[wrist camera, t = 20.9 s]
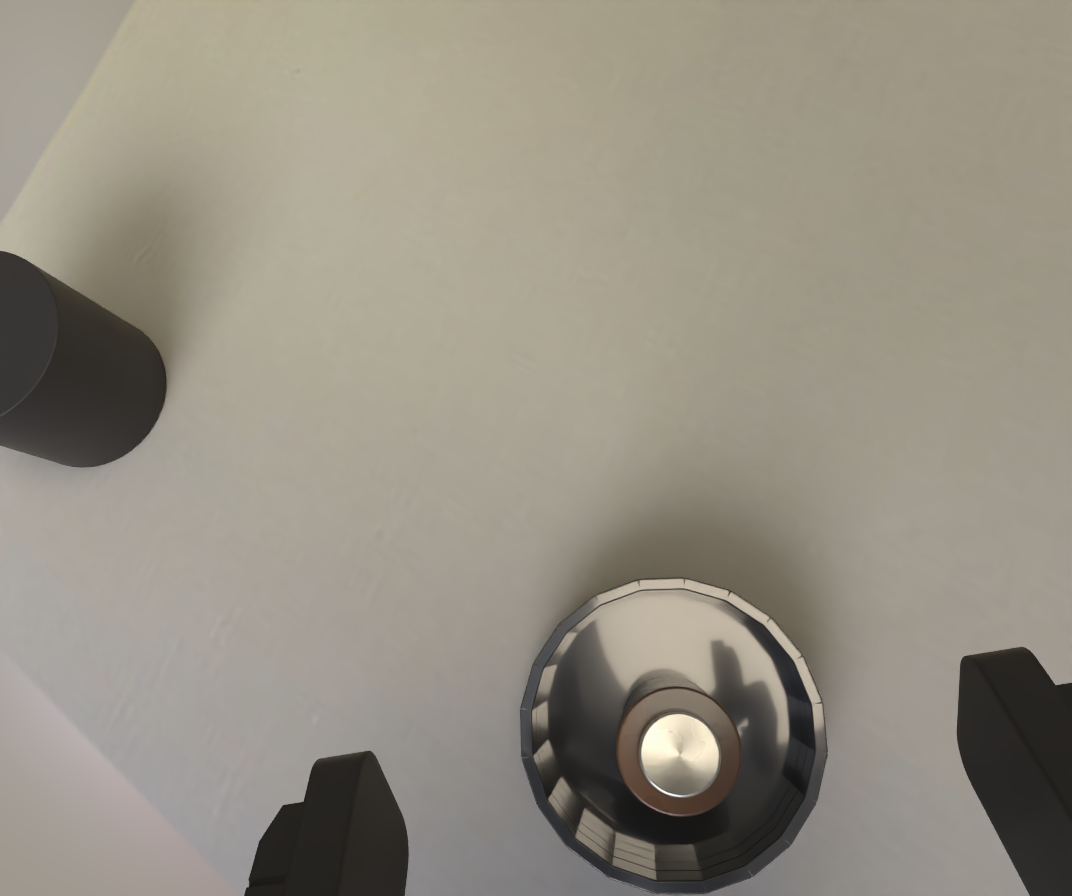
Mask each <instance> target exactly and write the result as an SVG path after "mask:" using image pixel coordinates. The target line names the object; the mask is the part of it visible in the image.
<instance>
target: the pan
mask: <svg viewBox="0 0 1072 896" xmlns="http://www.w3.org/2000/svg"><path fill="white" fill-rule="evenodd" d="M667 675H669V676H678V677H682V678H685V679H687V680H689V681H691V682H693V683H695V684H696V685H698V686H699V687H700V688H702V689H703V690H704V691H705V692H706V693H708V694H709V695H710V696H711V697H712V698H714V699H715V700H716V701H717V702H718V703H719V704H721V705H722V707H723V708H724V709H725V710H726V711H727V712H728V714H729V715H730V717H731V718H732V720H733V722H734V724H735V726H736V728H737V731H738V733H739V737H740V741H741V748H742V761H741V768H740V772H739V775H738V778H737V780H736V783H735V785H734V787H733V788H732V790H731V791H730V793H729V794H728V795H727V796H726V798H725V799H724V800H723V801H721V802H720V803H719V804H718V805H717V806H715V807H714V808H712V809H710V810H708V811H706V812H704V813H701V814H698V815H694V816H686V817H678V816H670V815H666V814H662V813H660V812H657V811H655V810H653V809H651V808H649V807H648V806H646V805H645V804H643V803H642V802H641V801H640V800H639V799H638V798H636V797H635V795H634V794H633V793H632V792H631V791H630V789H629V788H628V786H627V785H626V783H625V782H624V779H623V777H622V775H621V773H620V770H619V767H618V762H617V756H616V740H617V734H618V730H619V725H620V721H621V717H622V712H623V709H624V706H625V704H626V701H627V699H628V698H629V696H630V695H631V693H632V692H633V691H634V690H635V689H636V688H637V687H638V686H639V685H641V684H642V683H644V682H645V681H647V680H649V679H652V678H655V677H659V676H667ZM520 725H521V757H522V762H523V765H524V768H525V771H526V774H527V777H528V780H529V783H530V786H531V789H532V792H533V795H534V798H535V801H536V804H537V805H538V808H539V809H540V810H541V812H542V813H543V815H544V816H545V817H546V819H547V820H548V822H549V823H550V824H551V826H552V827H553V829H554V830H555V831H556V833H557V834H558V836H559V837H560V838H561V840H562V841H563V843H564V844H565V845H566V846H567V847H568V848H569V849H570V850H571V851H573V852H574V853H575V854H577V855H578V856H579V857H581V858H582V859H583V860H585V861H586V862H587V863H588V864H590V865H591V866H592V867H594V868H595V869H596V870H598V871H599V872H600V873H602V874H603V875H604V876H606V877H608V878H610V879H613V880H615V881H618V882H621V883H624V884H627V885H630V886H633V887H636V888H639V889H642V890H645V891H648V892H650V893H653V894H654V893H656V894H705V893H710V892H712V891H715V890H718V889H721V888H724V887H726V886H729V885H732V884H735V883H738V882H741V881H743V880H746V879H749V878H751V877H753V876H754V875H756V874H757V873H758V872H759V871H761V870H762V869H763V868H764V867H765V866H767V865H768V864H769V863H770V862H772V861H773V860H774V859H775V858H776V857H778V856H779V855H780V854H781V853H782V852H784V851H785V850H786V849H787V848H789V847H790V845H791V844H792V843H793V841H794V840H795V838H796V836H797V835H798V833H799V831H800V830H801V828H802V826H803V825H804V823H805V821H806V820H807V818H808V816H809V815H810V813H811V812H812V810H813V808H814V807H815V805H816V802H817V800H818V795H819V791H820V786H821V782H822V777H823V773H824V768H825V764H826V759H827V755H828V754H827V752H828V749H827V738H826V728H825V717H824V707H823V703H822V698H821V696H820V694H819V691H818V689H817V687H816V684H815V682H814V679H813V677H812V675H811V672H810V670H809V668H808V665H807V663H806V660H805V658H804V656H803V655H802V653H801V652H800V651H799V649H798V648H797V647H796V646H795V645H794V643H793V642H792V641H791V640H790V639H789V637H788V636H787V635H786V634H785V633H784V631H783V630H782V629H781V628H780V627H779V625H778V624H777V623H776V622H775V621H774V619H773V618H771V617H770V616H769V615H768V614H766V613H765V612H763V611H762V610H760V609H758V608H757V607H755V606H754V605H752V604H751V603H749V602H748V601H746V600H745V599H743V598H742V597H740V596H738V595H737V594H735V593H734V592H732V591H730V590H728V589H724V588H721V587H717V586H713V585H710V584H706V583H703V582H699V581H696V580H692V579H689V578H683V577H682V578H655V579H639V580H634V581H632V582H629V583H626V584H624V585H621V586H618V587H616V588H613V589H610V590H607V591H605V592H602V593H599V594H597V595H595V596H593V597H592V598H591V599H589V600H588V601H587V602H586V603H584V604H583V605H582V606H581V607H579V608H578V609H577V610H576V611H574V612H573V613H572V614H571V615H569V616H568V617H567V618H566V619H564V620H563V621H562V622H561V623H560V625H558V626H557V627H556V629H555V630H554V632H553V634H552V635H551V637H550V638H549V640H548V641H547V643H546V644H545V646H544V647H543V649H542V650H541V652H540V653H539V655H538V656H537V658H536V659H535V661H534V663H533V665H532V669H531V672H530V676H529V679H528V683H527V686H526V690H525V693H524V697H523V700H522V704H521V710H520Z"/></svg>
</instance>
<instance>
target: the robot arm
mask: <svg viewBox="0 0 1072 896" xmlns="http://www.w3.org/2000/svg"><path fill="white" fill-rule="evenodd" d="M957 740H958V747H959V751H960V755H961V759H962V762H963V765H964V768H965V771H966V773H967V776H968V778H969V780H970V782H971V784H972V786H973V788H974V790H975V792H976V794H977V796H978V798H979V800H980V801H981V803H982V805H983V807H984V809H985V811H986V813H987V815H988V817H989V819H990V821H991V822H992V824H993V826H994V828H995V830H996V832H997V834H998V836H999V838H1000V840H1001V841H1002V843H1003V845H1004V847H1005V849H1006V851H1007V853H1008V855H1009V857H1010V859H1011V861H1012V862H1013V864H1014V866H1015V868H1016V870H1017V872H1018V874H1019V876H1020V878H1021V880H1022V882H1023V883H1024V885H1025V887H1026V889H1027V891H1028V893H1029V895H1030V896H1072V683H1068V684H1061V685H1055V684H1054V683H1053V681H1052V680H1051V678H1050V677H1049V675H1048V674H1047V673H1046V671H1045V670H1044V668H1043V667H1042V665H1041V664H1040V663H1039V661H1038V660H1037V658H1036V657H1035V656H1034V655H1033V653H1032V652H1031V651H1030V650H1028V649H1027V648H1024V647H1018V648H1012V649H1005V650H999V651H993V652H987V653H981V654H975V655H969V656H964V657H963V658H962V660H961V664H960V680H959V700H958V719H957ZM408 855H409V853H408V837H407V831H406V826H405V822H404V818H403V816H402V813H401V811H400V809H399V807H398V804H397V802H396V800H395V798H394V796H393V793H392V791H391V789H390V787H389V785H388V782H387V780H386V778H385V776H384V774H383V771H382V769H381V767H380V765H379V763H378V760H377V758H376V756H375V755H374V754H373V753H372V752H371V751H364V752H358V753H352V754H346V755H340V756H334V757H327V758H321V759H318V760H317V761H316V762H315V763H314V765H313V767H312V770H311V773H310V777H309V782H308V786H307V790H306V794H305V798H304V802H300V803H294V804H288V805H283V806H282V808H281V809H280V811H279V812H278V814H277V815H276V817H275V818H274V820H273V821H272V823H271V824H270V826H269V827H268V829H267V830H266V832H265V833H264V835H263V837H262V838H261V840H260V841H259V844H258V848H257V852H256V855H255V859H254V863H253V866H252V870H251V873H250V877H249V887H248V888H246V891H245V895H244V896H405V887H406V878H407V870H408Z"/></svg>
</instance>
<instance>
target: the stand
mask: <svg viewBox="0 0 1072 896" xmlns="http://www.w3.org/2000/svg"><path fill="white" fill-rule="evenodd" d="M165 390H166V377H165V369H164V365H163V362H162V359H161V356H160V354H159V352H158V350H157V348H156V347H155V345H154V344H153V342H152V341H151V340H150V339H149V338H148V337H147V336H146V335H145V334H144V333H143V332H142V331H140V330H139V329H137V328H136V327H134V326H133V325H131V324H129V323H128V322H126V321H124V320H123V319H121V318H120V317H118V316H116V315H115V314H113V313H111V312H110V311H108V310H107V309H105V308H103V307H102V306H100V305H98V304H97V303H95V302H94V301H92V300H90V299H89V298H87V297H85V296H84V295H82V294H81V293H79V292H77V291H76V290H74V289H72V288H71V287H69V286H68V285H66V284H64V283H63V282H61V281H59V280H58V279H56V278H54V277H53V276H51V275H50V274H48V273H46V272H45V271H43V270H41V269H40V268H38V267H37V266H35V265H33V264H32V263H30V262H28V261H27V260H25V259H23V258H21V257H19V256H17V255H14V254H11V253H8V252H4V251H0V446H4V447H7V448H10V449H14V450H17V451H20V452H24V453H27V454H30V455H34V456H37V457H40V458H44V459H47V460H50V461H54V462H57V463H60V464H64V465H68V466H73V467H93V466H98V465H102V464H106V463H108V462H111V461H114V460H116V459H118V458H120V457H122V456H123V455H125V454H126V453H128V452H129V451H131V450H132V449H133V448H134V447H136V446H137V445H138V444H139V443H140V442H141V441H142V440H143V439H144V438H145V436H146V435H147V434H148V433H149V431H150V430H151V428H152V427H153V425H154V423H155V422H156V420H157V418H158V416H159V413H160V411H161V408H162V405H163V401H164V396H165Z"/></svg>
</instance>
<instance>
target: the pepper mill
mask: <svg viewBox="0 0 1072 896" xmlns="http://www.w3.org/2000/svg"><path fill="white" fill-rule="evenodd" d="M616 756H617V762H618V767H619V770H620V773H621V775H622V777H623V779H624V782H625V783H626V785H627V786H628V788H629V789H630V791H631V792H632V793H633V794H634V795H635V797H636V798H638V799H639V800H640V801H641V802H642V803H643V804H645V805H646V806H648V807H649V808H651V809H653V810H655V811H657V812H660V813H662V814H666V815H670V816H678V817H686V816H694V815H698V814H701V813H704V812H706V811H708V810H710V809H712V808H714V807H715V806H717V805H718V804H719V803H720V802H721V801H723V800H724V799H725V798H726V796H727V795H728V794H729V793H730V791H731V790H732V788H733V787H734V785H735V783H736V780H737V778H738V775H739V772H740V768H741V761H742V748H741V741H740V737H739V733H738V731H737V728H736V726H735V724H734V722H733V720H732V718H731V717H730V715H729V714H728V712H727V711H726V710H725V709H724V708H723V707H722V705H721V704H719V703H718V702H717V701H716V700H715V699H714V698H712V697H711V696H710V695H709V694H708V693H706V692H705V691H704V690H703V689H702V688H700V687H699V686H698V685H696V684H695V683H693V682H691V681H689V680H687V679H685V678H682V677H678V676H669V675H667V676H659V677H655V678H652V679H649V680H647V681H645V682H644V683H642V684H641V685H639V686H638V687H637V688H636V689H635V690H634V691H633V692H632V693H631V695H630V696H629V698H628V699H627V701H626V704H625V706H624V709H623V712H622V717H621V721H620V725H619V730H618V734H617V740H616Z"/></svg>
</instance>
